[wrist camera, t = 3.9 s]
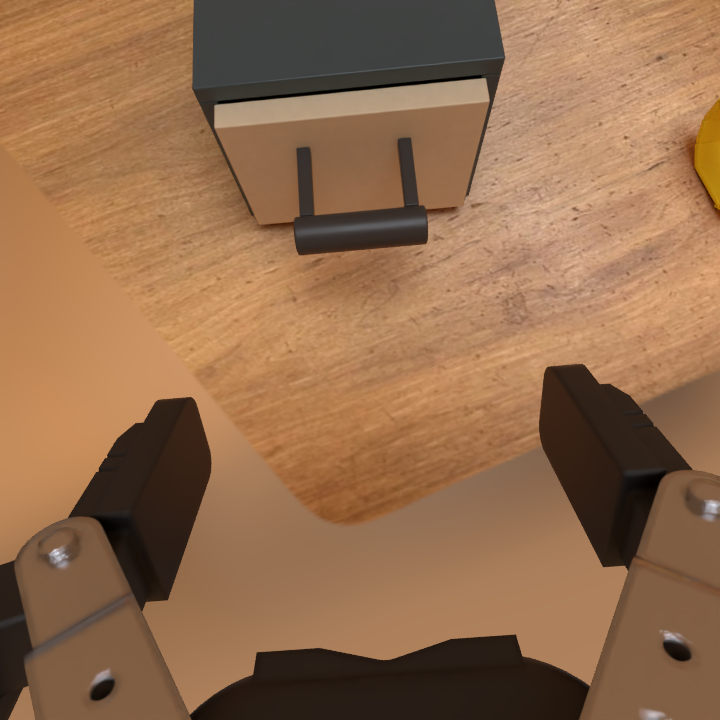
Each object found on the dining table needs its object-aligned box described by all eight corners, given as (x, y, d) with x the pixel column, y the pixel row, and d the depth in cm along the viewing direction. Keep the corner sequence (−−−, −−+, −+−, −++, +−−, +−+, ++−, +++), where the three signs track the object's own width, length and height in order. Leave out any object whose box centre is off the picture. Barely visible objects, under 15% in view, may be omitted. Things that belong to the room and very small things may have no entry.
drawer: (475, 290, 27) (509, 209, 20) (260, 309, 28) (213, 236, 20) (435, 15, 32) (450, -133, 25) (254, 33, 33) (214, -107, 25)
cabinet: (468, 195, 30) (505, 57, 21) (251, 216, 30) (191, 88, 21) (439, -1, 34) (459, -191, 24) (247, 19, 34) (195, -161, 25)
